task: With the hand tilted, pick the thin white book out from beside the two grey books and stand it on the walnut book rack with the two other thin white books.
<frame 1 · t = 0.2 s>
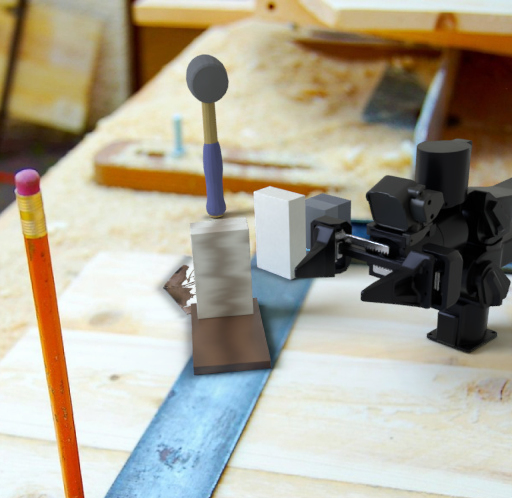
hand: (327, 284, 80), 17 cm above the workbench, tool horizontal, fingers open, 9 cm apart
book rack: (230, 355, 103), on the workbench
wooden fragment: (198, 283, 127), on the workbench
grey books: (323, 227, 128), on the workbench
white book: (281, 270, 126), on the workbench
rubber mallet: (216, 217, 152), on the workbench
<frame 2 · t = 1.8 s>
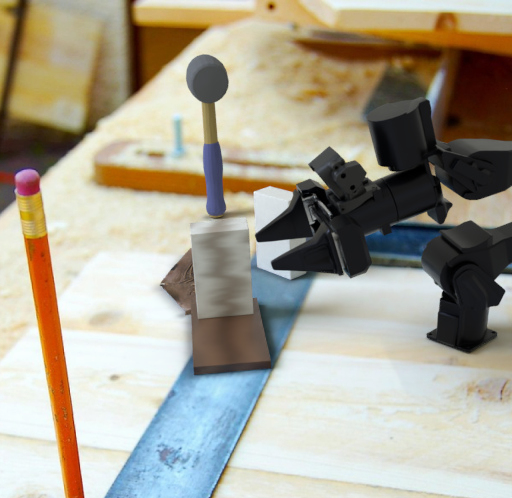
hand: (263, 251, 92), 16 cm above the workbench, tool tilted 75°, fingers open, 9 cm apart
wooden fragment: (194, 280, 127), on the workbench, touching book rack
everything else where it was.
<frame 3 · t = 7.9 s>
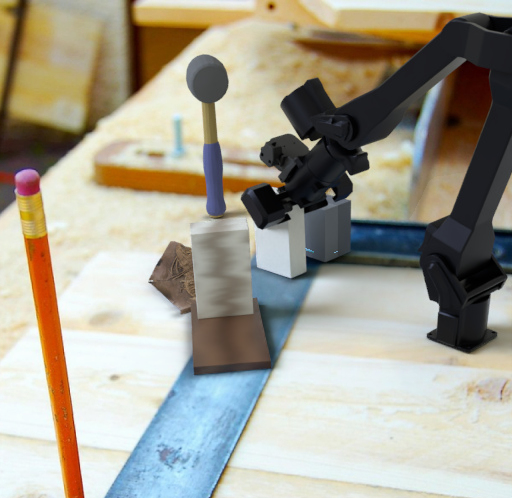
hand: (272, 221, 123), 8 cm above the workbench, tool tilted 45°, fingers closed on white book, 4 cm apart
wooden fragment: (181, 276, 127), point 1 cm above the workbench, touching book rack
white book: (281, 269, 126), on the workbench, touching gripper
everything else where it was.
when the fingers open (9 cm above the workbench, at t = 19.8 s): white book stays where it is, resting on book rack.
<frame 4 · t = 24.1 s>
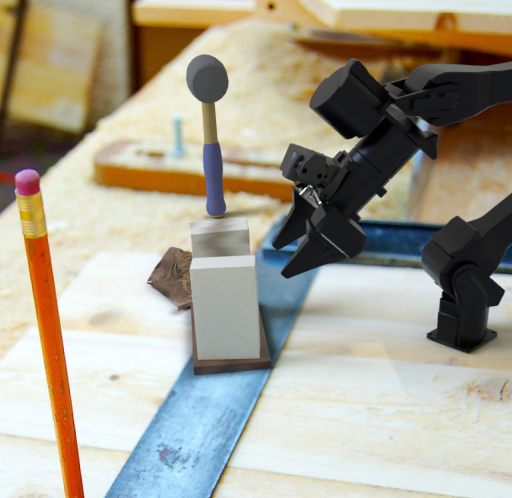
hand: (278, 261, 95), 14 cm above the workbench, tool tilted 45°, fingers open, 9 cm apart
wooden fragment: (179, 277, 128), on the workbench
white book: (229, 352, 101), point 1 cm above the workbench, touching book rack
everything else where it was.
at the end: white book 0.1 cm from the target spot on the book rack, point 1.2 cm above the book rack's base; white book tilted 0°; the gripper is holding nothing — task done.
